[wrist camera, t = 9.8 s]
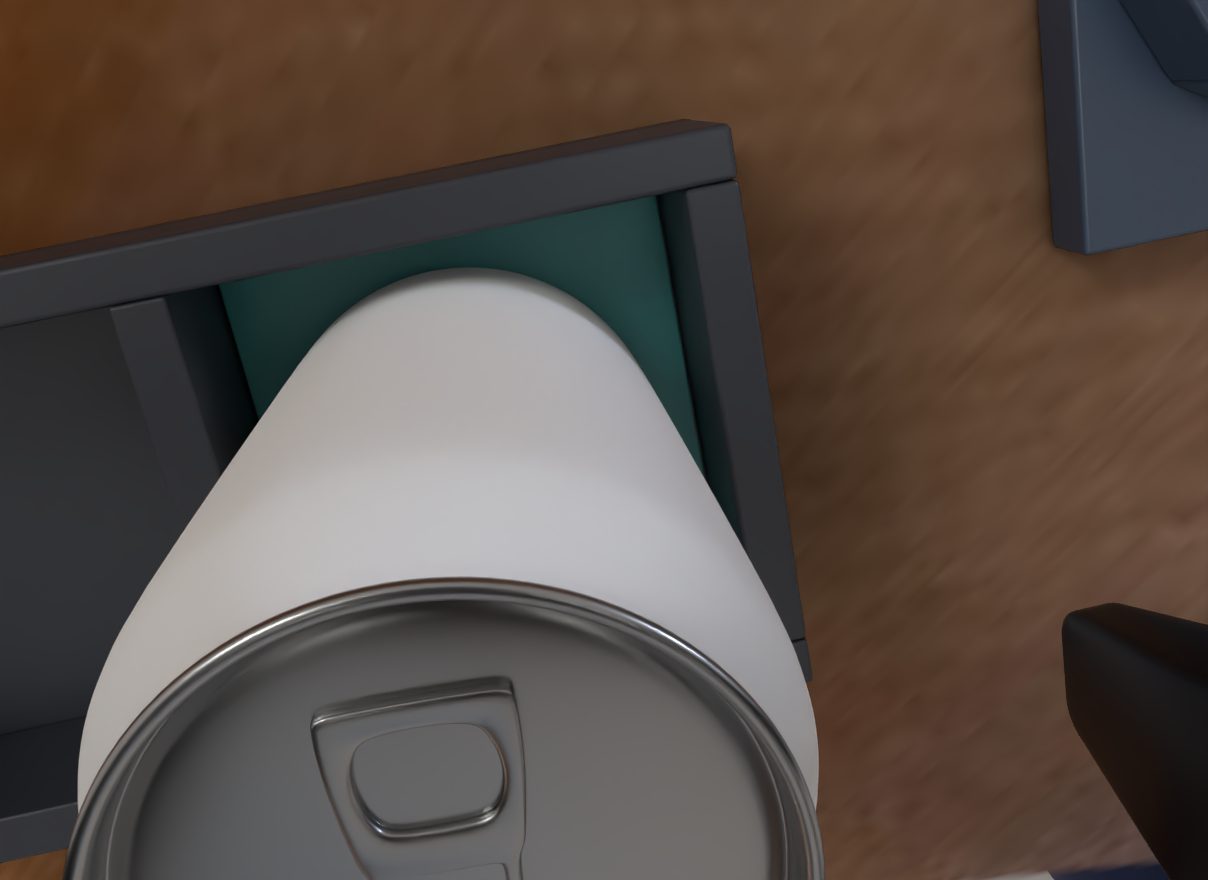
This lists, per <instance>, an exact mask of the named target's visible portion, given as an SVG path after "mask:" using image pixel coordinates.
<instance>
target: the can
mask: <svg viewBox="0 0 1208 880" xmlns="http://www.w3.org/2000/svg"><path fill="white" fill-rule="evenodd" d="M818 776H819V756H818V740H817V732H816V725H815V719H814V713H813V708H812V704H811V700H810V696H809V692H808V689H807V685H806V682H805V679H804V676H803V673H802V669H801V666H800V664H799V661H798V658H797V655H796V652H795V650H794V647H793V645H792V643H791V640H790V638H789V636H788V634H787V632H786V629H785V627H784V625H783V623H782V621H781V619H780V617H779V615H778V613H777V611H776V609H775V607H774V605H773V603H772V601H771V599H770V597H769V595H768V593H767V591H766V589H765V587H764V585H763V584H762V582H761V580H760V578H759V576H758V574H757V572H756V571H755V569H754V567H753V565H752V563H751V561H750V560H749V558H748V556H747V554H746V552H745V550H744V549H743V547H742V545H741V543H740V541H739V540H738V538H737V536H736V534H735V532H734V531H733V529H732V527H731V525H730V523H729V522H728V520H727V518H726V516H725V514H724V513H723V511H722V509H721V507H720V505H719V504H718V502H717V500H716V498H715V497H714V495H713V493H712V491H711V489H710V488H709V486H708V484H707V482H706V481H705V479H704V477H703V475H702V473H701V472H700V470H699V468H698V466H697V465H696V463H695V461H694V459H693V458H692V456H691V454H690V452H689V450H688V449H687V447H686V445H685V443H684V442H683V440H682V438H681V436H680V435H679V433H678V431H677V429H676V428H675V426H674V424H673V422H672V421H671V419H670V417H669V415H668V414H667V412H666V410H665V408H664V407H663V405H662V403H661V402H660V400H659V398H658V396H657V395H656V393H655V391H654V390H653V388H652V386H651V384H650V383H649V381H648V379H647V378H646V376H645V374H644V373H643V371H642V370H641V368H640V366H639V365H638V363H637V361H636V360H635V358H634V357H633V355H632V354H631V353H630V351H629V350H628V348H627V347H626V345H625V344H624V343H623V342H622V340H621V339H620V338H619V337H618V335H617V334H616V333H615V332H614V331H613V330H612V329H611V328H610V327H609V325H608V324H607V323H606V322H604V321H603V320H602V319H601V318H600V317H599V316H598V315H597V314H596V313H594V312H593V311H592V310H591V309H589V308H588V307H587V306H586V305H584V304H583V303H581V302H580V301H579V300H577V299H576V298H574V297H572V296H571V295H569V294H567V293H566V292H564V291H562V290H560V289H558V288H556V287H554V286H552V285H550V284H548V283H545V282H543V281H540V280H538V279H535V278H532V277H529V276H526V275H522V274H518V273H514V272H510V271H505V270H499V269H491V268H477V267H462V268H448V269H440V270H434V271H429V272H425V273H421V274H417V275H413V276H410V277H407V278H404V279H401V280H399V281H396V282H394V283H392V284H389V285H387V286H385V287H383V288H381V289H379V290H377V291H375V292H374V293H372V294H370V295H368V296H367V297H365V298H364V299H362V300H361V301H359V302H358V303H356V304H355V305H354V306H352V307H351V308H350V309H348V310H347V311H346V312H345V313H343V314H342V315H341V316H340V317H339V318H338V319H337V320H336V321H335V322H334V323H333V324H331V325H330V327H329V328H328V329H327V330H326V331H325V332H324V333H323V334H322V335H321V337H320V338H319V339H318V340H317V341H316V343H315V344H314V345H313V346H312V348H311V349H310V350H309V352H308V353H307V354H306V356H305V357H304V358H303V360H302V361H301V362H300V364H299V365H298V366H297V368H296V369H295V371H294V372H293V373H292V375H291V376H290V378H289V379H288V380H287V382H286V383H285V385H284V386H283V388H282V389H281V390H280V392H279V393H278V395H277V396H276V397H275V399H274V400H273V402H272V403H271V405H270V406H269V408H268V409H267V410H266V412H265V413H264V415H263V416H262V418H261V419H260V420H259V422H258V423H257V425H256V426H255V428H254V429H253V430H252V432H251V433H250V435H249V436H248V438H247V439H246V441H245V442H244V444H243V445H242V446H241V448H240V449H239V451H238V452H237V454H236V455H235V457H234V458H233V459H232V461H231V462H230V464H229V465H228V467H227V468H226V470H225V471H224V473H223V474H222V475H221V477H220V478H219V480H218V481H217V483H216V484H215V486H214V487H213V489H212V490H211V492H210V493H209V495H208V496H207V497H206V499H205V500H204V502H203V503H202V505H201V506H200V508H199V509H198V511H197V512H196V514H195V515H194V517H193V518H192V520H191V521H190V522H189V524H188V525H187V527H186V528H185V530H184V531H183V533H182V534H181V536H180V537H179V539H178V540H177V542H176V543H175V545H174V546H173V548H172V549H171V551H170V552H169V554H168V555H167V557H166V558H165V560H164V561H163V563H162V564H161V566H160V568H159V569H158V571H157V572H156V574H155V575H154V577H153V578H152V580H151V581H150V583H149V584H148V586H147V587H146V589H145V591H144V592H143V594H142V596H141V597H140V599H139V601H138V602H137V604H136V606H135V607H134V609H133V611H132V612H131V614H130V616H129V617H128V619H127V621H126V622H125V624H124V626H123V627H122V629H121V631H120V633H119V635H118V637H117V639H116V641H115V643H114V645H113V647H112V649H111V651H110V653H109V656H108V658H107V660H106V663H105V665H104V667H103V670H102V672H101V675H100V677H99V680H98V682H97V685H96V687H95V690H94V693H93V696H92V699H91V702H90V705H89V709H88V712H87V716H86V720H85V724H84V729H83V734H82V740H81V746H80V754H79V765H78V817H77V819H76V823H75V826H74V829H73V832H72V835H71V839H70V843H69V847H68V851H67V856H66V861H65V866H64V873H63V880H825V859H824V851H823V843H822V837H821V831H820V827H819V822H818V818H817V814H816V804H817V793H818Z"/></svg>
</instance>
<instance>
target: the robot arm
mask: <svg viewBox="0 0 1208 880" xmlns="http://www.w3.org/2000/svg"><path fill="white" fill-rule="evenodd" d="M1062 645H1063V658H1064V672H1065V686H1066V699H1067V706H1068V710H1069V714H1070V717H1071V720H1072V722H1073V724H1074V727H1075V729H1076V731H1077V732H1078V734H1079V736H1080V737H1081V739H1082V741H1083V742H1084V744H1085V745H1086V747H1087V749H1088V750H1089V752H1090V753H1091V755H1092V757H1093V758H1094V760H1095V761H1096V763H1097V765H1098V766H1099V768H1100V769H1101V771H1102V773H1103V774H1104V776H1105V777H1106V779H1107V781H1108V782H1109V784H1110V785H1111V787H1112V788H1113V790H1114V792H1115V793H1116V795H1117V796H1118V798H1119V800H1120V801H1121V803H1122V804H1123V806H1124V808H1125V809H1126V811H1127V812H1128V814H1129V816H1130V817H1131V819H1132V820H1133V822H1134V824H1135V825H1136V827H1137V828H1138V830H1139V832H1140V833H1141V835H1142V836H1143V838H1144V840H1145V841H1146V843H1147V844H1148V846H1149V848H1150V849H1151V851H1152V852H1153V854H1154V856H1155V857H1156V859H1157V860H1158V862H1159V863H1160V865H1161V866H1162V868H1163V869H1164V871H1165V872H1166V874H1167V875H1168V877H1169V878H1170V880H1208V625H1206V624H1202V623H1198V622H1194V621H1189V620H1185V619H1181V618H1177V617H1173V616H1169V615H1165V614H1161V613H1157V612H1153V611H1148V610H1144V609H1140V608H1136V607H1132V606H1128V605H1124V604H1120V603H1106V604H1102V605H1098V606H1093V607H1089V608H1085V609H1080V610H1076V611H1073V612H1071V613H1069V614H1068V615H1067V616H1066V617H1065V619H1064V621H1063V626H1062Z"/></svg>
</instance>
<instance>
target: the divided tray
mask: <svg viewBox="0 0 1208 880" xmlns="http://www.w3.org/2000/svg"><path fill="white" fill-rule="evenodd" d="M736 174H737V169H736V162H735V155H734V149H733V142H732V135H731V129H730V127H729V125H728V124H724V123H714V122H704V121H694V120H689V119H681V120H676V121H671V122H666V123H661V124H656V125H651V126H646V127H641V128H636V129H631V130H626V131H621V132H616V133H611V134H606V135H601V136H596V137H591V138H586V139H581V140H576V141H571V142H566V143H561V144H556V145H551V146H546V147H541V148H536V149H531V150H526V151H521V152H516V153H511V154H506V155H501V156H496V157H491V158H486V159H481V160H476V161H472V162H467V163H462V164H457V165H452V166H447V167H442V168H437V169H432V170H427V171H422V172H417V173H412V174H407V175H402V176H397V177H392V178H387V179H382V180H377V181H372V182H367V183H362V184H357V185H352V186H347V187H342V188H337V189H332V190H327V191H322V192H317V193H312V194H307V195H302V196H297V197H292V198H287V199H282V200H277V201H272V202H267V203H262V204H257V205H253V206H248V207H243V208H238V209H233V210H228V211H223V212H218V213H213V214H208V215H203V216H198V217H193V218H188V219H183V220H178V221H173V222H168V223H163V224H158V225H153V226H148V227H143V228H138V229H133V230H128V231H123V232H118V233H113V234H108V235H103V236H98V237H93V238H88V239H83V240H78V241H73V242H68V243H63V244H58V245H53V246H48V247H43V248H38V249H34V250H29V251H24V252H19V253H14V254H9V255H4V256H0V863H3V862H8V861H12V860H16V859H21V858H25V857H30V856H34V855H39V854H43V853H48V852H52V851H57V850H61V849H65V848H68V847H69V843H70V839H71V835H72V832H73V829H74V826H75V823H76V819H77V817H78V765H79V754H80V746H81V740H82V734H83V729H84V724H85V720H86V716H87V712H88V709H89V705H90V702H91V699H92V696H93V693H94V690H95V687H96V685H97V682H98V680H99V677H100V675H101V672H102V670H103V667H104V665H105V663H106V660H107V658H108V656H109V653H110V651H111V649H112V647H113V645H114V643H115V641H116V639H117V637H118V635H119V633H120V631H121V629H122V627H123V626H124V624H125V622H126V621H127V619H128V617H129V616H130V614H131V612H132V611H133V609H134V607H135V606H136V604H137V602H138V601H139V599H140V597H141V596H142V594H143V592H144V591H145V589H146V587H147V586H148V584H149V583H150V581H151V580H152V578H153V577H154V575H155V574H156V572H157V571H158V569H159V568H160V566H161V564H162V563H163V561H164V560H165V558H166V557H167V555H168V554H169V552H170V551H171V549H172V548H173V546H174V545H175V543H176V542H177V540H178V539H179V537H180V536H181V534H182V533H183V531H184V530H185V528H186V527H187V525H188V524H189V522H190V521H191V520H192V518H193V517H194V515H195V514H196V512H197V511H198V509H199V508H200V506H201V505H202V503H203V502H204V500H205V499H206V497H207V496H208V495H209V493H210V492H211V490H212V489H213V487H214V486H215V484H216V483H217V481H218V480H219V478H220V477H221V475H222V474H223V473H224V471H225V470H226V468H227V467H228V465H229V464H230V462H231V461H232V459H233V458H234V457H235V455H236V454H237V452H238V451H239V449H240V448H241V446H242V445H243V444H244V442H245V441H246V439H247V438H248V436H249V435H250V433H251V432H252V430H253V429H254V428H255V426H256V425H257V423H258V422H259V420H260V419H261V418H262V416H263V415H264V413H265V412H266V410H267V409H268V408H269V406H270V405H271V403H272V402H273V400H274V399H275V397H276V396H277V395H278V393H279V392H280V390H281V389H282V388H283V386H284V385H285V383H286V382H287V380H288V379H289V378H290V376H291V375H292V373H293V372H294V371H295V369H296V368H297V366H298V365H299V364H300V362H301V361H302V360H303V358H304V357H305V356H306V354H307V353H308V352H309V350H310V349H311V348H312V346H313V345H314V344H315V343H316V341H317V340H318V339H319V338H320V337H321V335H322V334H323V333H324V332H325V331H326V330H327V329H328V328H329V327H330V325H331V324H333V323H334V322H335V321H336V320H337V319H338V318H339V317H340V316H341V315H342V314H343V313H345V312H346V311H347V310H348V309H350V308H351V307H352V306H354V305H355V304H356V303H358V302H359V301H361V300H362V299H364V298H365V297H367V296H368V295H370V294H372V293H374V292H375V291H377V290H379V289H381V288H383V287H385V286H387V285H389V284H392V283H394V282H396V281H399V280H401V279H404V278H407V277H410V276H413V275H417V274H421V273H425V272H429V271H434V270H440V269H448V268H462V267H477V268H491V269H499V270H505V271H510V272H514V273H518V274H522V275H526V276H529V277H532V278H535V279H538V280H540V281H543V282H545V283H548V284H550V285H552V286H554V287H556V288H558V289H560V290H562V291H564V292H566V293H567V294H569V295H571V296H572V297H574V298H576V299H577V300H579V301H580V302H581V303H583V304H584V305H586V306H587V307H588V308H589V309H591V310H592V311H593V312H594V313H596V314H597V315H598V316H599V317H600V318H601V319H602V320H603V321H604V322H606V323H607V324H608V325H609V327H610V328H611V329H612V330H613V331H614V332H615V333H616V334H617V335H618V337H619V338H620V339H621V340H622V342H623V343H624V344H625V345H626V347H627V348H628V350H629V351H630V353H631V354H632V355H633V357H634V358H635V360H636V361H637V363H638V365H639V366H640V368H641V370H642V371H643V373H644V374H645V376H646V378H647V379H648V381H649V383H650V384H651V386H652V388H653V390H654V391H655V393H656V395H657V396H658V398H659V400H660V402H661V403H662V405H663V407H664V408H665V410H666V412H667V414H668V415H669V417H670V419H671V421H672V422H673V424H674V426H675V428H676V429H677V431H678V433H679V435H680V436H681V438H682V440H683V442H684V443H685V445H686V447H687V449H688V450H689V452H690V454H691V456H692V458H693V459H694V461H695V463H696V465H697V466H698V468H699V470H700V472H701V473H702V475H703V477H704V479H705V481H706V482H707V484H708V486H709V488H710V489H711V491H712V493H713V495H714V497H715V498H716V500H717V502H718V504H719V505H720V507H721V509H722V511H723V513H724V514H725V516H726V518H727V520H728V522H729V523H730V525H731V527H732V529H733V531H734V532H735V534H736V536H737V538H738V540H739V541H740V543H741V545H742V547H743V549H744V550H745V552H746V554H747V556H748V558H749V560H750V561H751V563H752V565H753V567H754V569H755V571H756V572H757V574H758V576H759V578H760V580H761V582H762V584H763V585H764V587H765V589H766V591H767V593H768V595H769V597H770V599H771V601H772V603H773V605H774V607H775V609H776V611H777V613H778V615H779V617H780V619H781V621H782V623H783V625H784V627H785V629H786V632H787V634H788V636H789V638H790V640H791V643H792V645H793V647H794V650H795V652H796V655H797V658H798V661H799V664H800V666H801V669H802V673H803V676H804V679H805V682H810V681H811V680H812V672H811V665H810V658H809V651H808V645H807V640H806V639H805V627H804V620H803V613H802V606H801V600H800V593H799V586H798V579H797V573H796V566H795V559H794V552H793V546H792V539H791V532H790V526H789V519H788V512H787V505H786V499H785V492H784V485H783V478H782V472H781V465H780V458H779V451H778V445H777V438H776V431H775V424H774V418H773V411H772V404H771V397H770V391H769V384H768V377H767V370H766V364H765V357H764V350H763V343H762V337H761V330H760V323H759V316H758V310H757V303H756V296H755V289H754V283H753V276H752V269H751V262H750V256H749V249H748V242H747V235H746V229H745V222H744V215H743V208H742V202H741V195H740V188H739V184H738V182H737V181H736V180H732V179H734V178H735V177H736Z"/></svg>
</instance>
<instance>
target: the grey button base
mask: <svg viewBox="0 0 1208 880" xmlns="http://www.w3.org/2000/svg"><path fill="white" fill-rule="evenodd" d="M1038 7H1039V23H1040V38H1041V54H1042V70H1043V85H1044V101H1045V116H1046V132H1047V148H1048V163H1049V179H1050V195H1051V210H1052V226H1053V241H1054V245H1055V247H1057V248H1061V249H1064V250H1068V251H1072V252H1076V253H1080V254H1084V255H1092V254H1096V253H1101V252H1106V251H1111V250H1115V249H1120V248H1125V247H1130V246H1134V245H1139V244H1144V243H1149V242H1154V241H1158V240H1163V239H1168V238H1173V237H1177V236H1182V235H1187V234H1192V233H1196V232H1201V231H1206V230H1208V0H1038Z"/></svg>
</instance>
